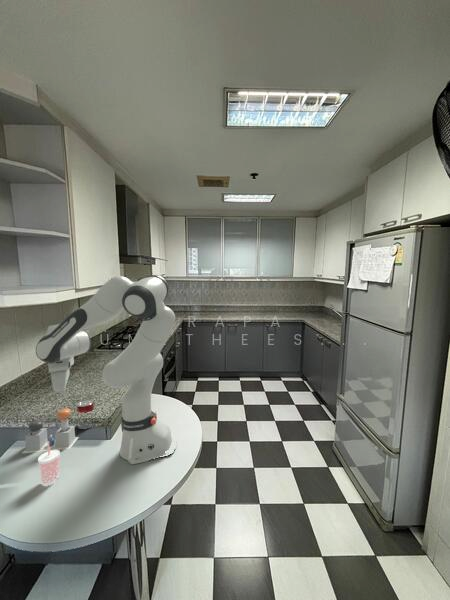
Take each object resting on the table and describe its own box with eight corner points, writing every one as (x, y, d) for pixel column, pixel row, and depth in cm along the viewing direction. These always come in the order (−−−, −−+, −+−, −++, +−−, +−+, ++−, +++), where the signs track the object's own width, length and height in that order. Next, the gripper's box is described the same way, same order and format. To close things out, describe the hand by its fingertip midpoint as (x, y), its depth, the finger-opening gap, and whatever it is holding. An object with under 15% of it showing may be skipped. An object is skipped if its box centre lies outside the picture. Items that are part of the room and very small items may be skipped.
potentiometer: (56, 442, 104) (55, 433, 104) (52, 446, 101) (52, 436, 101) (50, 443, 103) (49, 434, 103) (46, 446, 101) (46, 437, 101)
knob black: (46, 441, 104) (45, 419, 104) (39, 447, 100) (38, 425, 99) (34, 442, 104) (33, 420, 103) (27, 449, 99) (25, 426, 99)
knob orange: (73, 429, 105) (72, 408, 105) (68, 435, 101) (67, 413, 101) (62, 430, 105) (60, 408, 104) (56, 436, 100) (54, 414, 100)
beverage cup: (44, 476, 86) (42, 437, 86) (64, 472, 88) (62, 434, 87) (35, 489, 80) (33, 448, 80) (56, 485, 82) (54, 445, 81)
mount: (79, 439, 108) (78, 423, 107) (69, 451, 100) (69, 434, 99) (34, 443, 105) (33, 427, 105) (21, 455, 97) (20, 438, 97)
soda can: (87, 433, 112) (86, 407, 112) (73, 431, 114) (72, 406, 113) (98, 424, 119) (97, 400, 119) (85, 423, 121) (84, 399, 120)
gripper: (55, 356, 109) (57, 387, 110) (47, 369, 91) (49, 405, 92) (72, 354, 112) (73, 384, 113) (67, 366, 94) (69, 402, 95)
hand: (63, 394), depth 102 cm, fingers closed
